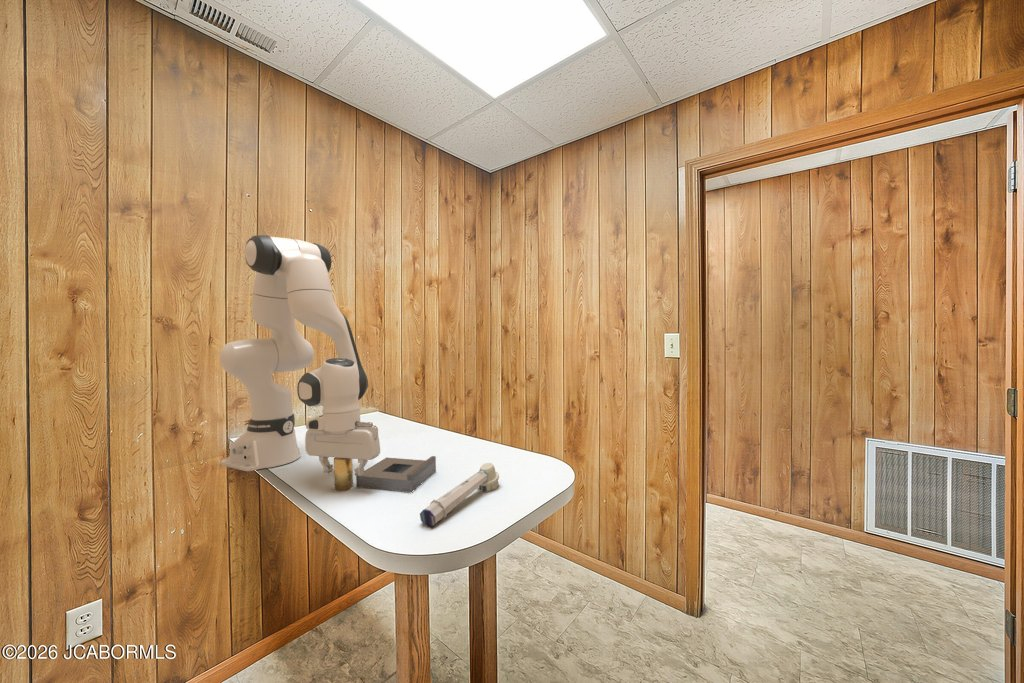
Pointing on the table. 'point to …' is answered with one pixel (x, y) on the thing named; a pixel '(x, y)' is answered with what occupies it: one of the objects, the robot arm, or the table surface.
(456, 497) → the beige piece
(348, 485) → the gold metallic cylinder
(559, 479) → the table surface
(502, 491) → the table surface
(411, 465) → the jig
